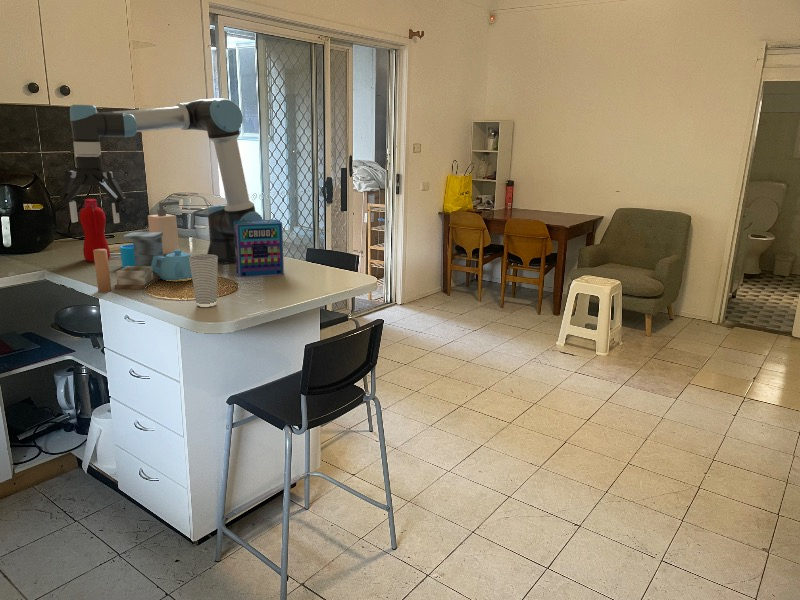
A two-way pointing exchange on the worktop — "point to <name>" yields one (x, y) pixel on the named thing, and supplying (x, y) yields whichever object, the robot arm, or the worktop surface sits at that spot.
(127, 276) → the socket station
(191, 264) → the cup
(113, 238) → the worktop surface
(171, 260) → the teapot
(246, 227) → the box
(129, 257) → the mug
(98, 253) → the peg
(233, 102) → the robot arm
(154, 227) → the soap dispenser
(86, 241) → the water bottle
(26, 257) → the worktop surface
